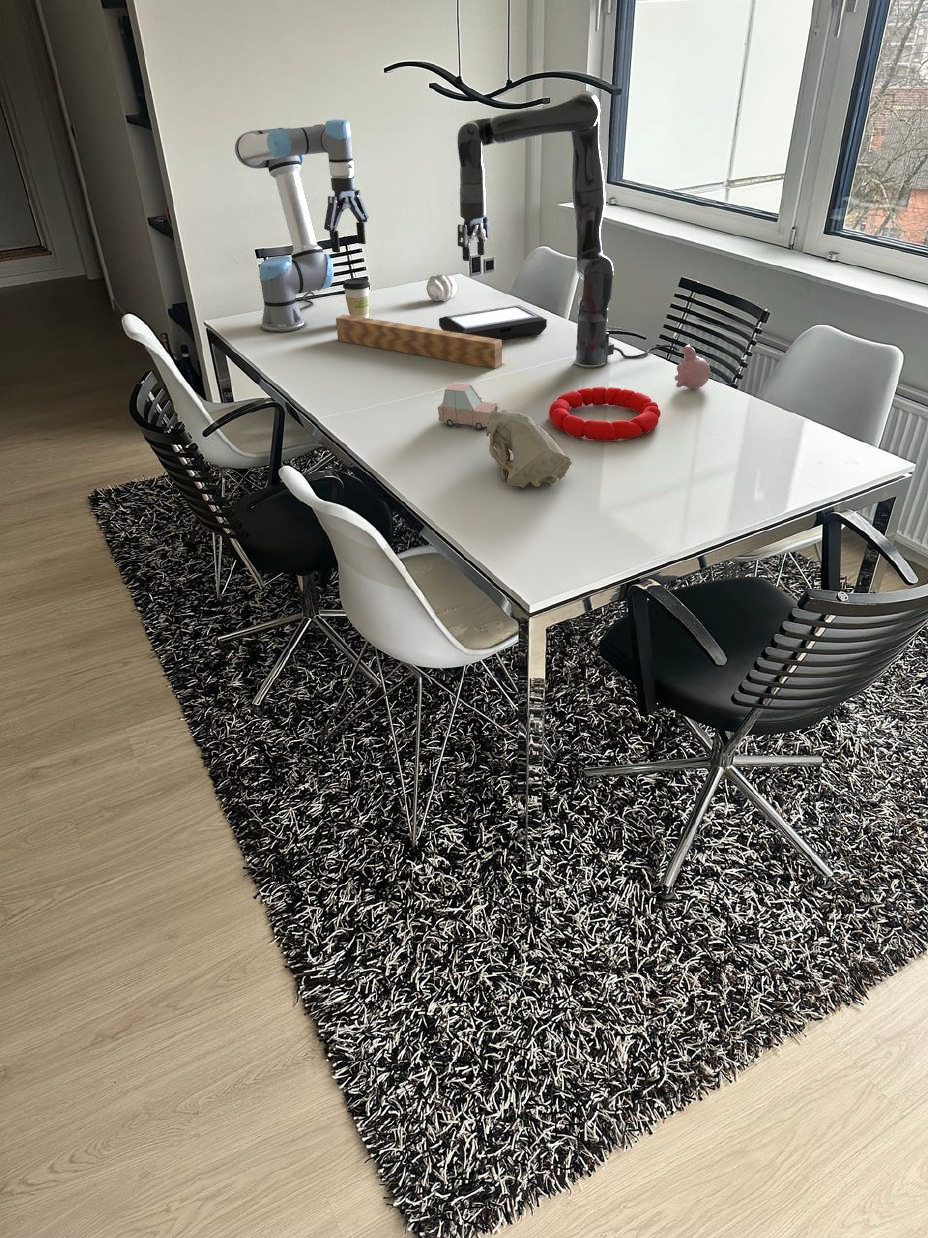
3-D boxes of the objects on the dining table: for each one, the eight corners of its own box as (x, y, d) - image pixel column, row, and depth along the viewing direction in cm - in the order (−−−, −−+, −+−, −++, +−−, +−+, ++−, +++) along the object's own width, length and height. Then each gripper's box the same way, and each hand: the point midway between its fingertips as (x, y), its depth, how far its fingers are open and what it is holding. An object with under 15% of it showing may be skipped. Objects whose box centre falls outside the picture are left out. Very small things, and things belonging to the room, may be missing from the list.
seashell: (419, 300, 350) (418, 274, 344) (453, 294, 355) (452, 268, 350) (431, 306, 342) (430, 279, 336) (465, 300, 348) (465, 273, 342)
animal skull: (496, 517, 219) (521, 479, 201) (463, 429, 225) (484, 384, 207) (557, 503, 225) (586, 465, 206) (523, 417, 231) (549, 373, 212)
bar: (338, 340, 311) (335, 317, 306) (346, 337, 314) (343, 314, 309) (494, 368, 282) (494, 343, 278) (502, 364, 285) (501, 339, 281)
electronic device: (462, 330, 295) (438, 315, 310) (462, 349, 298) (439, 333, 313) (546, 317, 305) (520, 303, 320) (546, 335, 309) (520, 320, 324)
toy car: (488, 432, 240) (488, 396, 234) (436, 426, 244) (434, 390, 239) (499, 419, 247) (499, 384, 241) (448, 413, 252) (447, 379, 246)
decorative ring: (589, 435, 224) (684, 402, 234) (527, 398, 247) (617, 369, 256) (589, 461, 229) (683, 427, 238) (529, 422, 251) (617, 393, 260)
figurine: (665, 387, 264) (669, 347, 257) (693, 380, 268) (698, 340, 261) (686, 396, 257) (690, 355, 250) (714, 388, 262) (720, 348, 255)
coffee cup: (372, 326, 323) (368, 283, 314) (345, 327, 323) (340, 284, 315) (374, 318, 331) (371, 276, 322) (348, 319, 331) (344, 277, 323)
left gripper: (326, 183, 269) (334, 256, 281) (375, 170, 287) (381, 241, 299) (307, 181, 273) (316, 254, 285) (357, 169, 290) (363, 239, 302)
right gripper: (471, 204, 254) (472, 264, 263) (496, 196, 263) (496, 253, 273) (448, 202, 257) (450, 261, 266) (474, 194, 267) (475, 251, 276)
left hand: (349, 247), depth 292 cm, fingers open, 13 cm apart
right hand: (474, 257), depth 269 cm, fingers open, 8 cm apart
